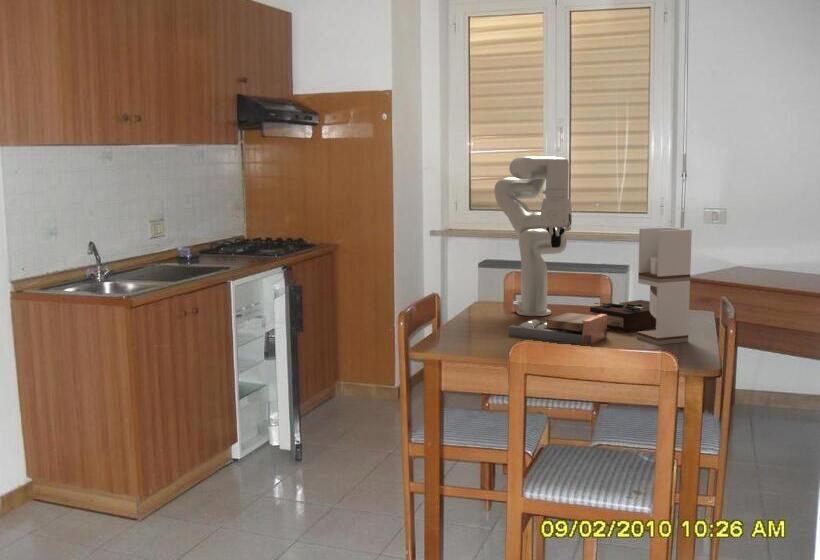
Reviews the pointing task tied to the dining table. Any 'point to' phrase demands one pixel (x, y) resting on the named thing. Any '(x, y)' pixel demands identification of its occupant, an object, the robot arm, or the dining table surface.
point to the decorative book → (627, 315)
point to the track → (591, 331)
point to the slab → (568, 321)
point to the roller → (572, 331)
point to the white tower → (666, 281)
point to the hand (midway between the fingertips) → (555, 247)
